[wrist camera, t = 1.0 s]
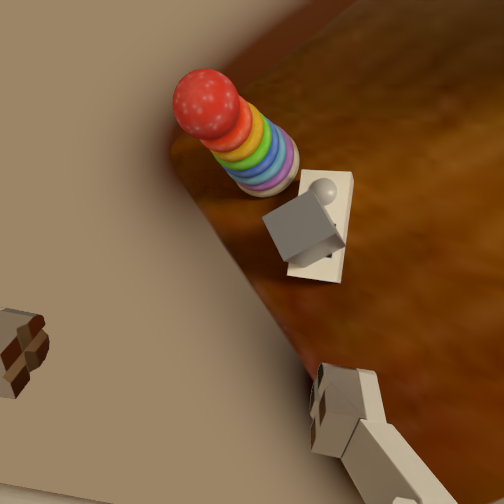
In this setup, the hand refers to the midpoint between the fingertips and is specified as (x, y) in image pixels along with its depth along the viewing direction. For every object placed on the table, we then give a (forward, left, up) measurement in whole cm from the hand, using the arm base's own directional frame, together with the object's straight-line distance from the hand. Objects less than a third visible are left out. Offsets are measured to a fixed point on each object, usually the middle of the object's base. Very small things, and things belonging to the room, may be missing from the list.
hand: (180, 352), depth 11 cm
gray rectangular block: (-5, -4, -30) cm, 31 cm away
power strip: (-7, -5, -31) cm, 32 cm away
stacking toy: (-10, -14, -32) cm, 36 cm away
